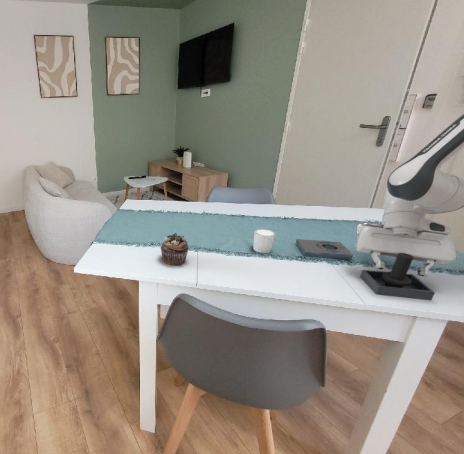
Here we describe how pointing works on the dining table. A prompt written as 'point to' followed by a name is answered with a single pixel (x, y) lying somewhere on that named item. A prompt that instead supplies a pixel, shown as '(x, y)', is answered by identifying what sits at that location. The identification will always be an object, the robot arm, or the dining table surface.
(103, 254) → the dining table surface
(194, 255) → the dining table surface
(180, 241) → the cupcake
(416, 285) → the dark grey tray
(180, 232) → the dining table surface
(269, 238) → the white cylinder
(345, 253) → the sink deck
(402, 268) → the plug
